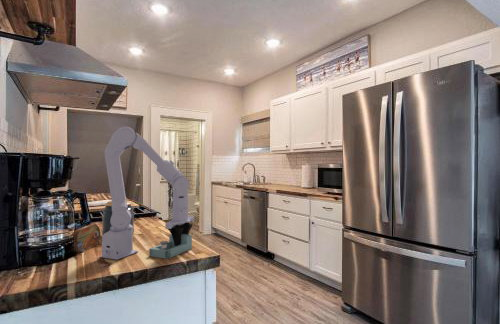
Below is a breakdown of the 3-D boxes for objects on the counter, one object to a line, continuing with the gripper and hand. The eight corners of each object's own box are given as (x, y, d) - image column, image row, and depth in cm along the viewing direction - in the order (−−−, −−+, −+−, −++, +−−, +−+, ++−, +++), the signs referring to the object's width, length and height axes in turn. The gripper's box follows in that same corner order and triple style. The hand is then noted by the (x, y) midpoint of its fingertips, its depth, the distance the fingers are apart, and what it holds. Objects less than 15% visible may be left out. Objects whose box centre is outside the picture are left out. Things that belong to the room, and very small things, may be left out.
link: (168, 258, 95) (168, 243, 95) (149, 255, 98) (149, 241, 98) (191, 248, 107) (191, 234, 107) (174, 246, 110) (174, 233, 110)
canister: (104, 233, 132) (105, 195, 133) (135, 231, 136) (135, 194, 137) (99, 240, 120) (99, 198, 120) (132, 237, 124) (132, 196, 124)
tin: (77, 255, 100) (77, 230, 100) (68, 255, 100) (69, 230, 100) (101, 243, 115) (101, 222, 115) (93, 243, 115) (93, 222, 115)
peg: (164, 256, 97) (164, 242, 97) (158, 255, 98) (158, 242, 98) (169, 254, 99) (169, 241, 99) (163, 253, 100) (163, 240, 100)
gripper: (176, 211, 99) (176, 250, 99) (200, 205, 112) (200, 240, 112) (160, 210, 102) (160, 248, 102) (185, 205, 115) (185, 239, 115)
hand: (180, 244), depth 107 cm, fingers open, 3 cm apart
